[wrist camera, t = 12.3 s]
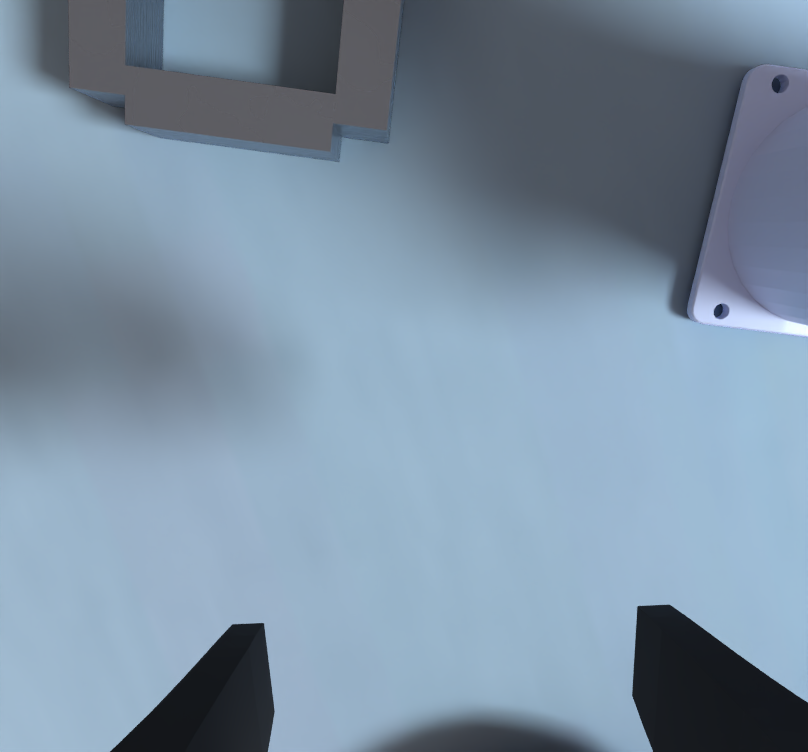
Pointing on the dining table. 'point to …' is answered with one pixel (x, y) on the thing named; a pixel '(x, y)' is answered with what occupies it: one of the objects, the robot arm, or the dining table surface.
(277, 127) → the socket collar
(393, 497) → the dining table surface
